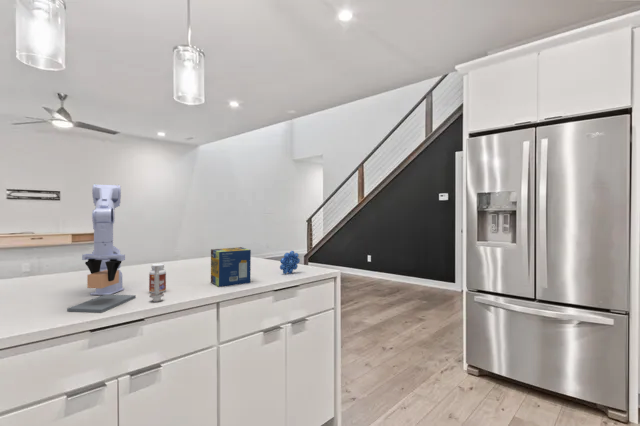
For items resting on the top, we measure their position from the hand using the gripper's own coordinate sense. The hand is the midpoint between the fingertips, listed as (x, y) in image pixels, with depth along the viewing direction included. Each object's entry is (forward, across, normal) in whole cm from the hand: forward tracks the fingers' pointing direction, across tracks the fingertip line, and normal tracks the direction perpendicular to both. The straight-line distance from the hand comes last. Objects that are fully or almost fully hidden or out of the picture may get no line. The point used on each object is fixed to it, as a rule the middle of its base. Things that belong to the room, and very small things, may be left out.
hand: (103, 280), depth 119 cm
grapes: (+9, +56, +63) cm, 85 cm away
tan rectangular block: (+2, 0, 0) cm, 2 cm away
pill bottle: (+9, +9, +19) cm, 23 cm away
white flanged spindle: (+9, +16, +6) cm, 19 cm away
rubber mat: (+8, 0, 0) cm, 8 cm away
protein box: (+9, +33, +38) cm, 51 cm away
